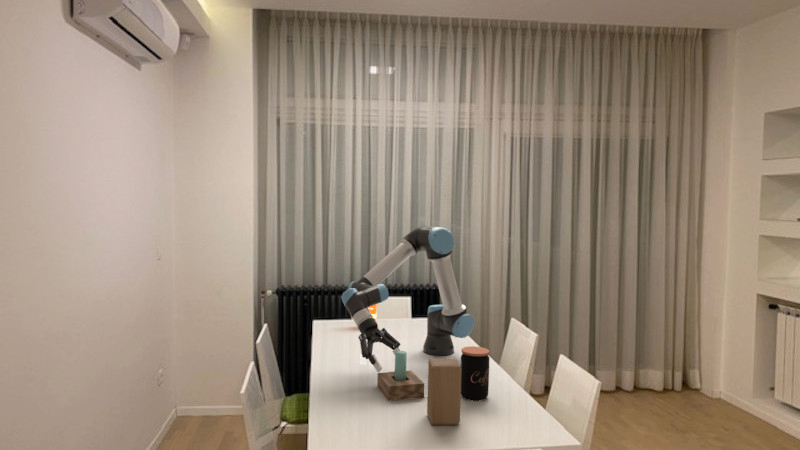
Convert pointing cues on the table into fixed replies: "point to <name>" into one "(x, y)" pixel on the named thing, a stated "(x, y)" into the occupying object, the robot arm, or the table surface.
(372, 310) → the orange juice
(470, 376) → the coffee jar
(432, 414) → the wooden block
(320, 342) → the table surface
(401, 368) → the pin
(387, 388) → the socket block
